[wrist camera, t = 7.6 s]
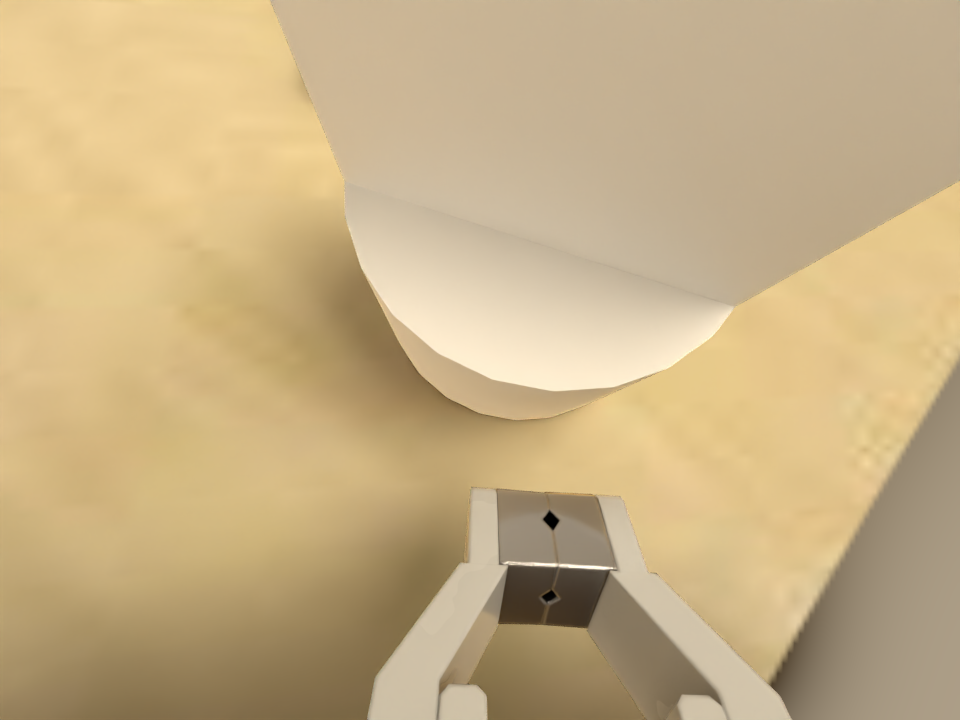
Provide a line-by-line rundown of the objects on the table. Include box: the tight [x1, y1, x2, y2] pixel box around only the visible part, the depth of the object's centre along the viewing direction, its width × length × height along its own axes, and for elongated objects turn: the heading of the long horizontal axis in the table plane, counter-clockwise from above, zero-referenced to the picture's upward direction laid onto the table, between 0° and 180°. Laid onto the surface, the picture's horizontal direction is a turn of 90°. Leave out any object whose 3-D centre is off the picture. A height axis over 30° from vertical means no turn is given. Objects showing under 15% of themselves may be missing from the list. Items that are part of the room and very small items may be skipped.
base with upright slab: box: [270, 0, 960, 420], centre depth 9 cm, size 9×9×12 cm
